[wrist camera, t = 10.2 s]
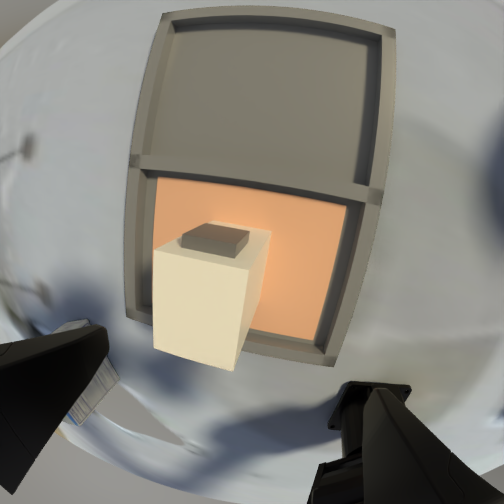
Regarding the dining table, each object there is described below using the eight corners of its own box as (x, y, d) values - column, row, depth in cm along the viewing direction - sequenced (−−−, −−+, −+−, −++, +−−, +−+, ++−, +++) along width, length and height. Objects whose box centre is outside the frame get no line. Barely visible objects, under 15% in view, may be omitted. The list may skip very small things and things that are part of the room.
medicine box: (67, 320, 25) (15, 357, 17) (89, 317, 24) (33, 359, 16) (97, 377, 26) (57, 420, 18) (122, 379, 25) (80, 428, 17)
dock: (332, 355, 20) (333, 367, 19) (135, 309, 22) (126, 317, 21) (389, 37, 13) (395, 29, 12) (170, 21, 15) (162, 13, 14)
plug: (259, 300, 19) (233, 371, 12) (205, 288, 20) (153, 347, 12) (273, 222, 18) (251, 255, 10) (214, 211, 18) (154, 235, 11)
